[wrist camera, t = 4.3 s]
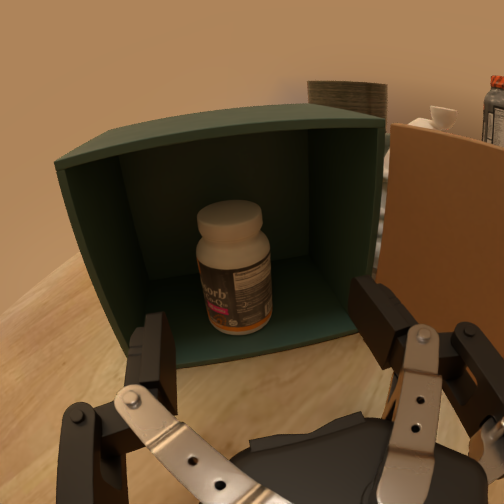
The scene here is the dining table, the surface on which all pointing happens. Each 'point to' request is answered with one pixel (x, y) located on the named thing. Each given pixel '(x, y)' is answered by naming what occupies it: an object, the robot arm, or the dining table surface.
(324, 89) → the planter
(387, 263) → the cupboard door
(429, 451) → the robot arm
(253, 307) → the pill bottle
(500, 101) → the supplement tub
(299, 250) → the cupboard
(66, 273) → the dining table surface
